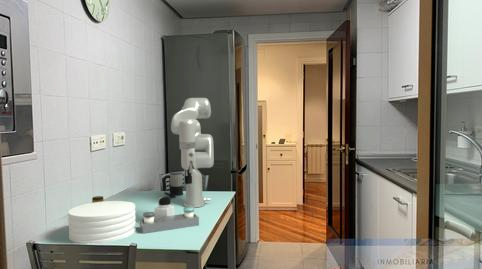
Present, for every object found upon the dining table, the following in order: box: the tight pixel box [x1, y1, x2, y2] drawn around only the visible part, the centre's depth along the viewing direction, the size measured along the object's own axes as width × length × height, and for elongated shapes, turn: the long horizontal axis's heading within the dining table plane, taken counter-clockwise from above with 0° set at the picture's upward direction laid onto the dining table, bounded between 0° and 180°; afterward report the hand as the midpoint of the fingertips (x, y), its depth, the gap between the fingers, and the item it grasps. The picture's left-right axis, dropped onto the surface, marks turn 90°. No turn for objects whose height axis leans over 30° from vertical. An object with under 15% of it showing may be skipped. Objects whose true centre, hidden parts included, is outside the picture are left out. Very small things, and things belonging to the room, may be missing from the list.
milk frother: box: [162, 171, 184, 199], centre depth 232 cm, size 14×16×15 cm
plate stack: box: [67, 200, 137, 245], centre depth 156 cm, size 28×28×12 cm
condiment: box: [91, 195, 104, 203], centre depth 177 cm, size 7×8×12 cm
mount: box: [139, 213, 200, 235], centre depth 164 cm, size 26×9×4 cm, turn 115°
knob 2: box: [182, 207, 195, 218], centre depth 168 cm, size 5×5×7 cm
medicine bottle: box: [154, 196, 175, 218], centre depth 173 cm, size 7×7×12 cm
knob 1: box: [142, 211, 155, 223], centre depth 160 cm, size 5×5×7 cm
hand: (188, 183), depth 168 cm, fingers closed
